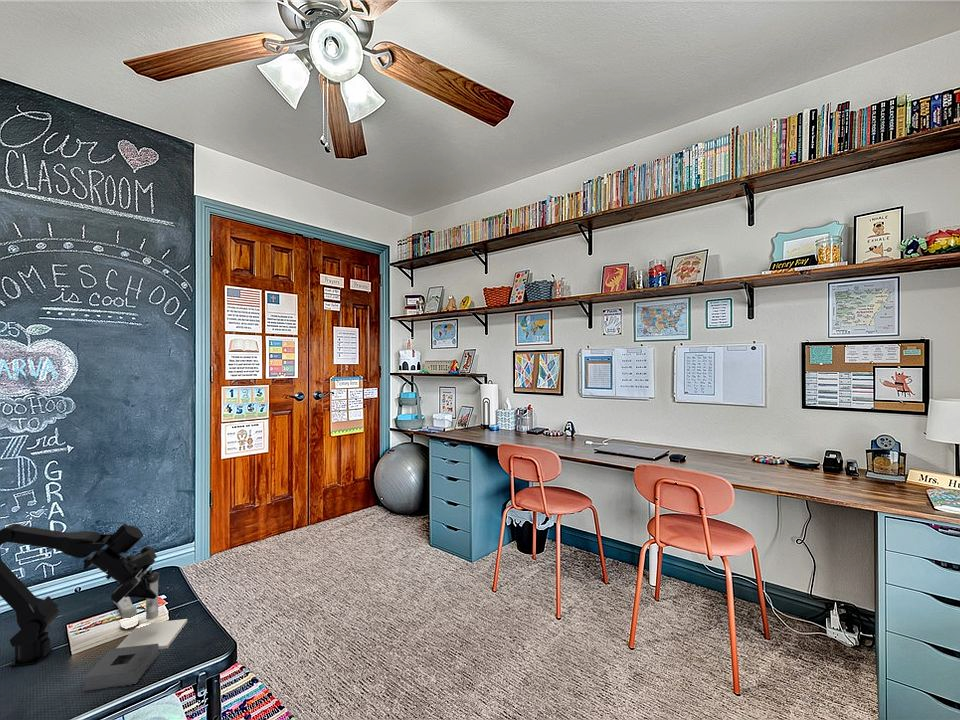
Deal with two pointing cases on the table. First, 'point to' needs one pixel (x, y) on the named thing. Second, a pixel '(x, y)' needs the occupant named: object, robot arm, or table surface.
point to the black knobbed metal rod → (152, 604)
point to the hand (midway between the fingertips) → (157, 594)
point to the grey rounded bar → (126, 607)
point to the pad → (155, 634)
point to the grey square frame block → (121, 667)
